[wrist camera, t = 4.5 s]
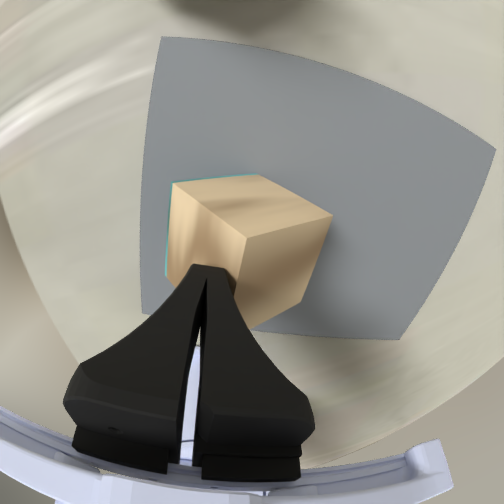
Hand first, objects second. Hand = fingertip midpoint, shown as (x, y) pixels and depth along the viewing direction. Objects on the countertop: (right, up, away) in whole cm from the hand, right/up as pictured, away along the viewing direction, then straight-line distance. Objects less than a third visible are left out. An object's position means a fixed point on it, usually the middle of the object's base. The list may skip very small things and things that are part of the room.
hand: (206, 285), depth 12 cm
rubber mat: (+7, +3, +7) cm, 10 cm away
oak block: (0, +3, +5) cm, 5 cm away
